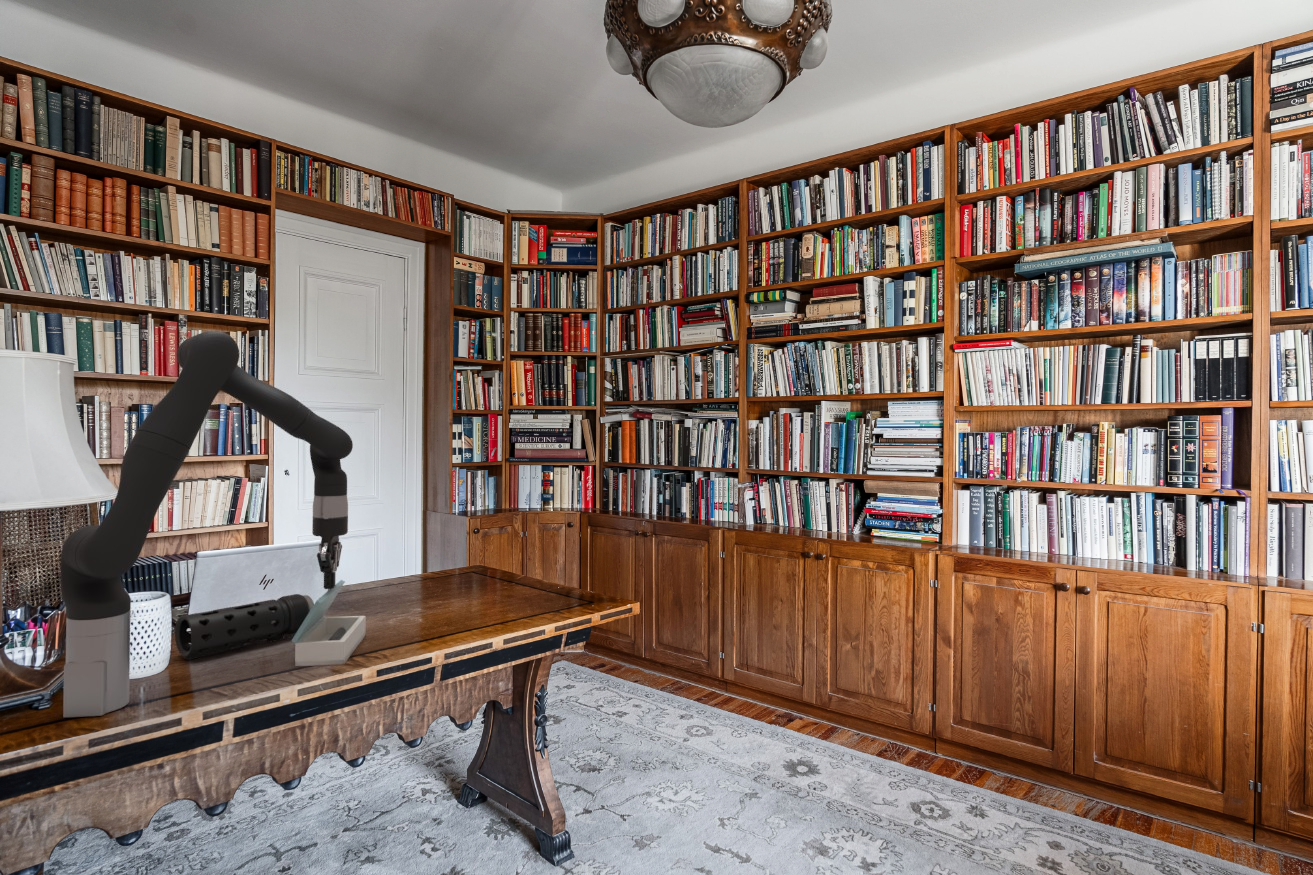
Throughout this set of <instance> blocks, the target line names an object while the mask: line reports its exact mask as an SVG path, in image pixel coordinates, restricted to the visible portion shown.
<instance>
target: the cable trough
mask: <svg viewBox="0 0 1313 875" xmlns="http://www.w3.org/2000/svg"><path fill="white" fill-rule="evenodd" d="M366 618H367V617H366V615H352V616H351V615H350V616H349V615H348V616H347V615H346V616H323V617H322V618H321V619H320V620H319V621H318V622H317V623H316V624H315V625H314V626H313V627H312V628H311V629H310V630H309V631H308V632H307V633H306V634H305V635H304V636H302V637H301V638H300V639H299V640H298V641H297V642H296V643H294V644H295V645H294V646H295V648H294V649H295V650H294V651H295V652H294V659H295V660H294V666H295V667H310V666H311V667H312V666H313V667H314V666H333V665H334V666H335V665H345V664H346V663H347V661H348V660H349V658H350V657H351V656H352V654H353V653H354V651H355V650H356V649H357V647H358V646H359V645H360V644H361V642H362V641H363V639H364V638H365V637H366V629H367V628H366V622H367V621H366V620H367V619H366Z"/></svg>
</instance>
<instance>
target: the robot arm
mask: <svg viewBox="0 0 1313 875" xmlns="http://www.w3.org/2000/svg"><path fill="white" fill-rule="evenodd" d="M176 360H177V362H178V365H179V366H180V368H181V371H180V373H179V375H178V377H177V379H176V380H175V382H174V384H173V385H172V387H171V388H170V390H169V391H168V392H167V393H165V395H164V397H163V398H162V399H161V400H160V401H159V402H158V403H157V404H156V405H155V406H154V407H153V409H152V410H151V411H150V412H149V414H147V416H146V417H145V419H143V421H142V423H141V424H140V425H139V427H138V428H137V430H136V432H135V434H134V435H133V438H132V439H131V441H130V442H129V444H128V446H127V448H126V451H125V452H124V455H123V459H122V461H121V467H120V475H119V484H118V489H117V493H116V496H115V499H114V500H113V503H112V505H111V507H110V509H109V510H108V512H107V513H106V514H105V517H104V519H103V520H102V521H101V523H100V524H94V525H85V526H83V527H80V528H78V529H76V530H74V531H72V533H70V534H69V535H68V537H67V538H66V539H65V541H64V542H63V544H62V548H61V553H60V585H61V588H60V589H61V599H62V602H63V604H64V606H65V610H66V611H65V612H66V613H65V614H66V619H65V620H66V621H65V622H66V623H65V624H66V626H65V627H66V629H65V632H66V633H65V634H66V635H65V664H64V665H63V702H62V703H63V706H62V708H63V711H62V712H63V714H62V715H63V718H80V717H82V718H83V717H97V716H99V717H100V716H104V715H105V714H108V713H110V712H113V711H116V710H120V709H122V708H123V707H125V706H126V705H128V704H129V702H130V672H131V671H130V669H131V668H130V664H131V662H130V661H131V609H132V608H131V605H132V604H131V603H132V602H131V601H132V600H131V596H130V594H129V593H128V591H127V590H126V589H125V587H124V586H123V583H122V578H121V577H122V576H123V575H124V574H126V573H128V572H129V570H131V568H133V566H134V565H135V564H136V562H137V561H138V558H139V556H140V555H141V553H142V550H143V547H144V545H145V542H146V540H147V537H148V534H149V531H150V529H151V527H152V524H153V521H154V518H155V516H156V514H157V512H158V510H159V509H160V507H161V504H162V502H163V501H164V499H165V497H166V495H167V494H168V492H169V489H170V487H171V485H172V484H173V481H174V480H175V478H176V476H177V474H178V472H179V470H180V469H181V467H182V466H183V463H184V462H185V460H186V458H187V456H188V454H189V452H190V450H191V448H192V446H193V444H194V442H195V440H196V437H197V436H198V434H199V431H200V429H201V427H202V426H203V423H204V421H205V419H206V417H207V414H208V413H209V410H210V408H211V405H212V404H213V402H214V400H215V398H216V397H217V395H218V394H219V392H220V391H222V392H223V393H224V394H227V395H228V396H231V397H232V398H233V399H235V400H237V401H239V402H241V403H243V405H246V406H247V407H248V408H250V409H252V410H254V411H255V412H257V413H258V414H260V415H261V416H263V417H265V419H267V420H269V421H270V422H271V423H273V424H274V425H275V426H276V427H278V428H279V429H281V430H283V431H284V432H286V433H287V434H288V435H290V436H291V437H293V438H296V439H299V440H302V441H304V442H306V443H308V444H309V454H310V455H309V456H310V462H311V466H312V470H313V472H312V473H313V476H314V481H313V482H314V483H313V484H314V485H313V490H314V492H313V502H312V529H311V530H312V535H313V536H315V537H320V538H321V540H320V543H319V545H318V551H319V552H317V554H316V557H317V562H318V566H319V569H320V570H319V571H320V573H321V572H322V574H323V588H324V590H330V589H333V588H334V587H335V585H336V575H337V574H336V572H337V570H338V568H339V566H340V560H341V553H342V548H343V544H342V542H341V541H340V536H345V535H347V533H348V530H349V502H348V501H349V500H348V475H347V472H345V470H343V469H342V465H341V464H342V463H341V460H342V459H345V458H346V457H348V456H349V455H350V454H351V452H352V451H353V447H354V444H353V440H352V437H351V436H350V435H349V434H348V433H347V432H346V431H345V430H344V429H342V428H341V427H340V426H338V425H336V424H334V423H333V422H330V421H329V420H327V419H325V418H323V417H321V416H320V415H318V414H316V412H314V411H312V410H311V409H310V408H309V407H307V406H306V405H305V404H304V403H302V402H300V401H299V400H298V399H296V397H293V396H292V395H290V394H288V393H287V392H285V391H283V390H281V389H279V388H278V387H275V386H273V385H271V384H270V383H266V382H264V381H262V380H261V379H259V378H257V377H255V376H253V375H251V374H250V373H249V372H248V371H246V370H244V369H243V368H242V367H240V366H239V365H238V364H239V360H240V348H239V346H238V344H237V342H236V341H235V339H234V338H233V337H232V336H231V335H230V334H228V333H225V332H223V331H218V330H217V331H216V330H211V331H210V330H209V331H204V332H201V333H197V334H196V335H193V336H191V337H190V336H189V338H187V339H184V340H183V341H182V342H181V343H180V344H179V345H178V348H177V350H176Z"/></svg>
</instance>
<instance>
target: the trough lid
mask: <svg viewBox="0 0 1313 875" xmlns="http://www.w3.org/2000/svg"><path fill="white" fill-rule="evenodd" d="M345 583H346V581H345V580H342V579H340V580H339V581H338V582H337V583H335V587H334V588H333V589H328V590H327V591H326V592H324V594H322V595H321V597H319V598H318V599H316V601H315V602H314V605H313V607H312V609H311V610H310V612H309V613H308V615H307V617H306V618H305V620H304V621H303V623H302V625H301V626H300V628H299V629H298V631H297V633H294V636H293V637H292V639H291V642H293V643H294V644H295V643H296V642H297V641H299V640H300V639H301V638H302V637H303V636H304V635H305V634H306V633H307V632H308V631H309V630H310V629H311V628H312V627H313V626H314V625H315V624H316V623H317V622H318V621H319V620H321V619H322V618H323V617H325V614H326V613H327V611H328V610H329V609H330V607H331V605H332V604H333V602H334V600H335V599H336V597H337V595H338V593H339V592H340V591H341V589H342V588H343V586H344V584H345Z"/></svg>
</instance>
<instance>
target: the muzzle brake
mask: <svg viewBox="0 0 1313 875" xmlns="http://www.w3.org/2000/svg"><path fill="white" fill-rule="evenodd" d="M314 604H315V602H314V601H313V599H312V597H311V596H310V595H307V594H304V595H303V594H299V593H296V594H290V595H284V596H281V597H279V598H277V599H268V600H263V601H257V602H252V603H247V604H242V605H236V606H229V607H224V608H219V609H218V608H217V609H214V610H208V611H203V612H202V611H201V612H196V613H190V614H189V613H188V614H184V615H181V616H179V617H178V618H177V620H176V623H175V629H174V639H175V645H176V649H177V650H178V653H179V654H180V655H181V656H182V657H183V658H184V659H185V660H188V661H189V660H192V659H196V658H197V659H198V658H202V657H206V656H210V655H215V654H220V653H223V652H228V651H232V649H236V648H244V646H245V645H248V644H249V645H250V644H252V643H257V642H262V641H266V642H268V641H269V643H271V642H270V641H272V642H275V641H274V640H276V641H279V640H280V639H281V640H283V639H284V637H285V636H289V635H290V636H291V635H295V634H296V633H297V631H298V629H299V628H300V626H301V625H302V623H303V621H304V620H305V618H306V617H307V615H308V613H309V612H310V610H311V609H312V607H313V605H314ZM188 629H190V632H188V631H187V630H188ZM281 640H280V641H281Z"/></svg>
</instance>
